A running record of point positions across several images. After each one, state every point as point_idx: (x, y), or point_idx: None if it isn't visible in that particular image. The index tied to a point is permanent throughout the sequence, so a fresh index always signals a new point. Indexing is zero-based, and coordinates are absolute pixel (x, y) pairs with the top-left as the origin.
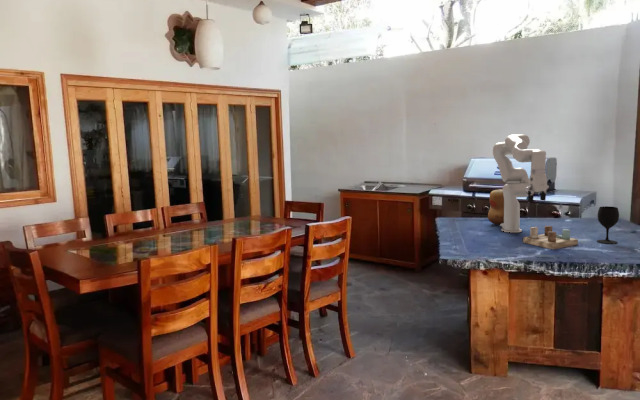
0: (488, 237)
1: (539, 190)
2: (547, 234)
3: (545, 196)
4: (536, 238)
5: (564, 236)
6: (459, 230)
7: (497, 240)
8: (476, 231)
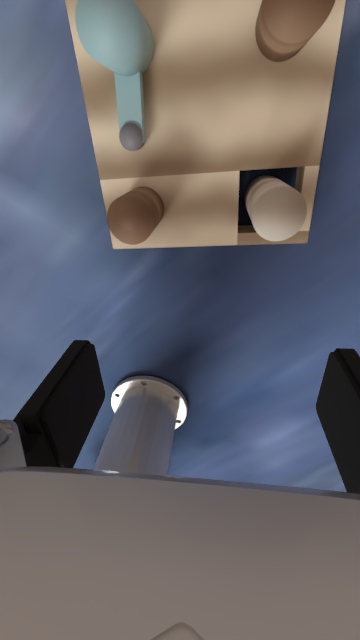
0: (321, 381)
1: (283, 519)
2: (159, 199)
3: (49, 377)
4: (272, 178)
5: (147, 27)
6: (292, 485)
7: (350, 328)
8: (260, 454)
